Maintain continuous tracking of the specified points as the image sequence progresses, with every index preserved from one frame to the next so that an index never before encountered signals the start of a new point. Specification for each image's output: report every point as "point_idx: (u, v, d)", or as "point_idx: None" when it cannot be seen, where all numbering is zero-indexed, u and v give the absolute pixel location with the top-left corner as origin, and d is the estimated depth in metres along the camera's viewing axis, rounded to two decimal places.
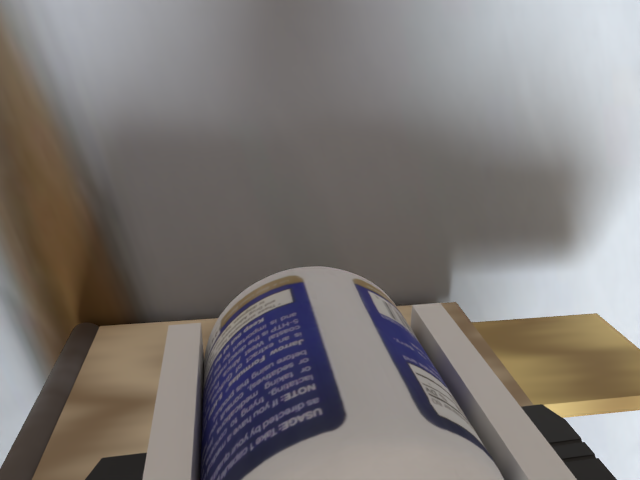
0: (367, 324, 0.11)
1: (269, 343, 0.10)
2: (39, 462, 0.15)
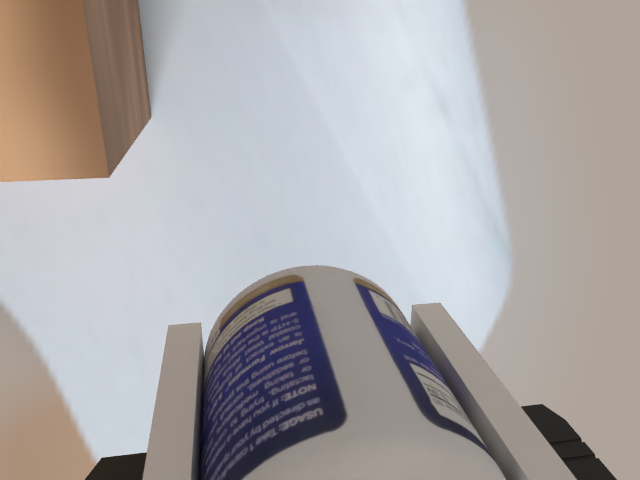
0: (368, 323, 0.11)
1: (269, 342, 0.10)
2: None
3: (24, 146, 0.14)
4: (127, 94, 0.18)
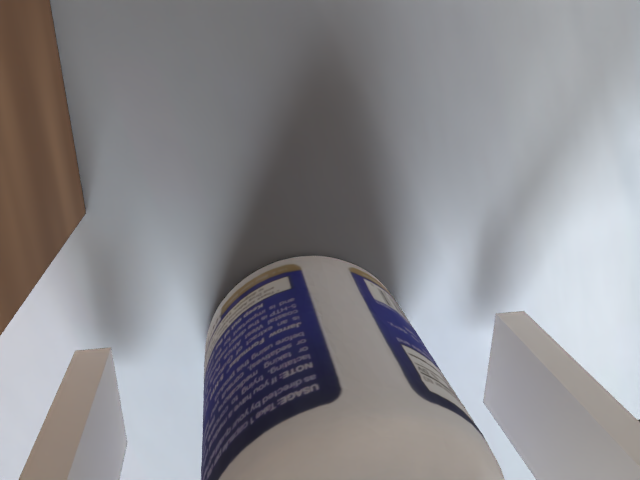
0: (362, 309, 0.11)
1: (268, 327, 0.11)
2: None
3: None
4: None
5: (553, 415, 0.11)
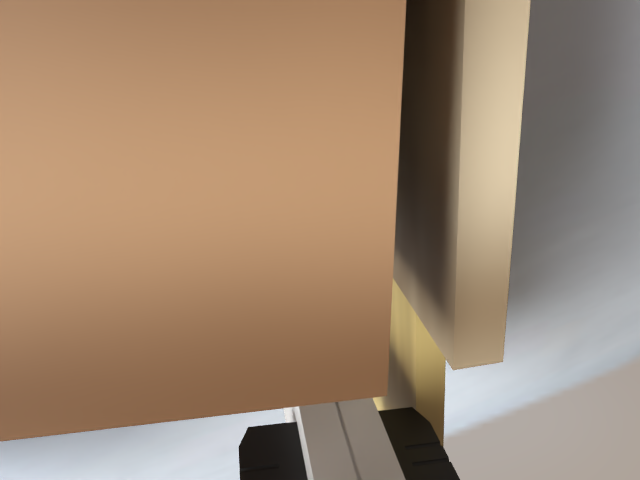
0: None
1: None
2: None
3: None
4: None
5: None
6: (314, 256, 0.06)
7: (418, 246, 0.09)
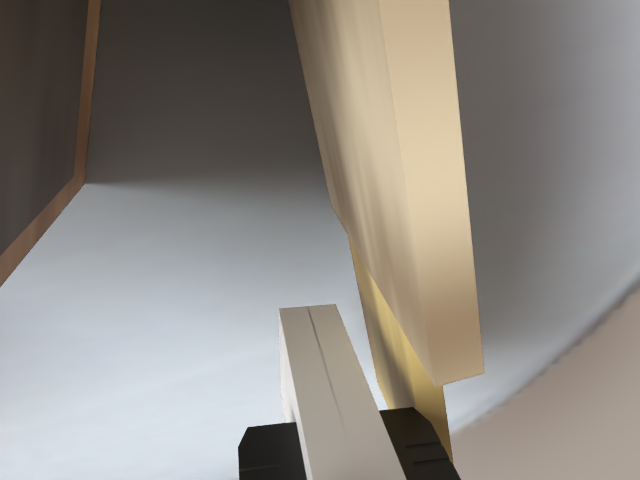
0: None
1: None
2: None
3: None
4: None
5: None
6: None
7: (392, 264, 0.09)
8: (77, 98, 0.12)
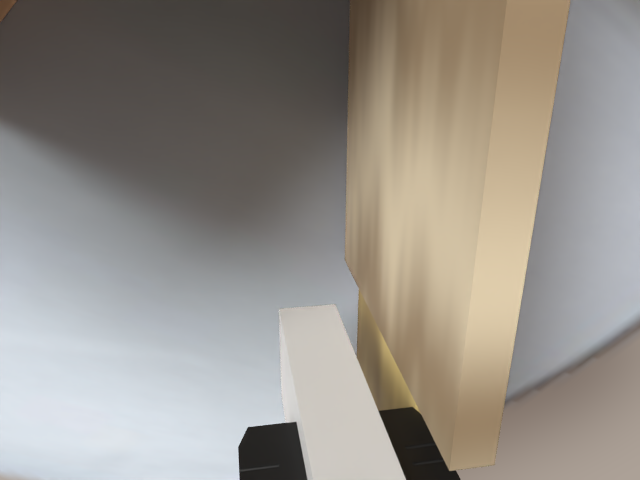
0: None
1: None
2: None
3: None
4: None
5: None
6: None
7: (424, 348, 0.10)
8: None
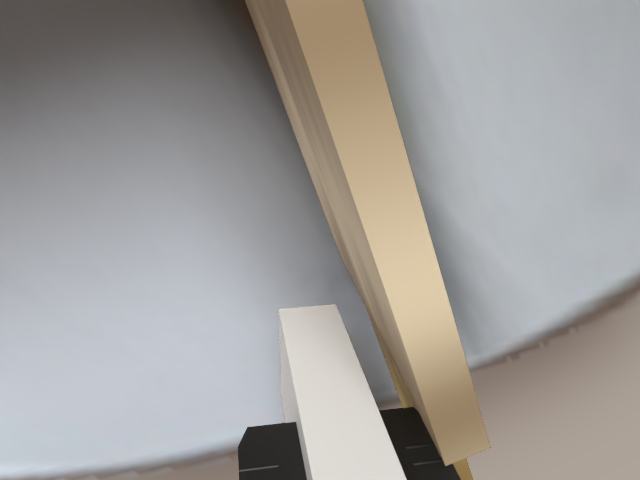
0: None
1: None
2: None
3: None
4: None
5: None
6: None
7: (394, 347, 0.10)
8: None
